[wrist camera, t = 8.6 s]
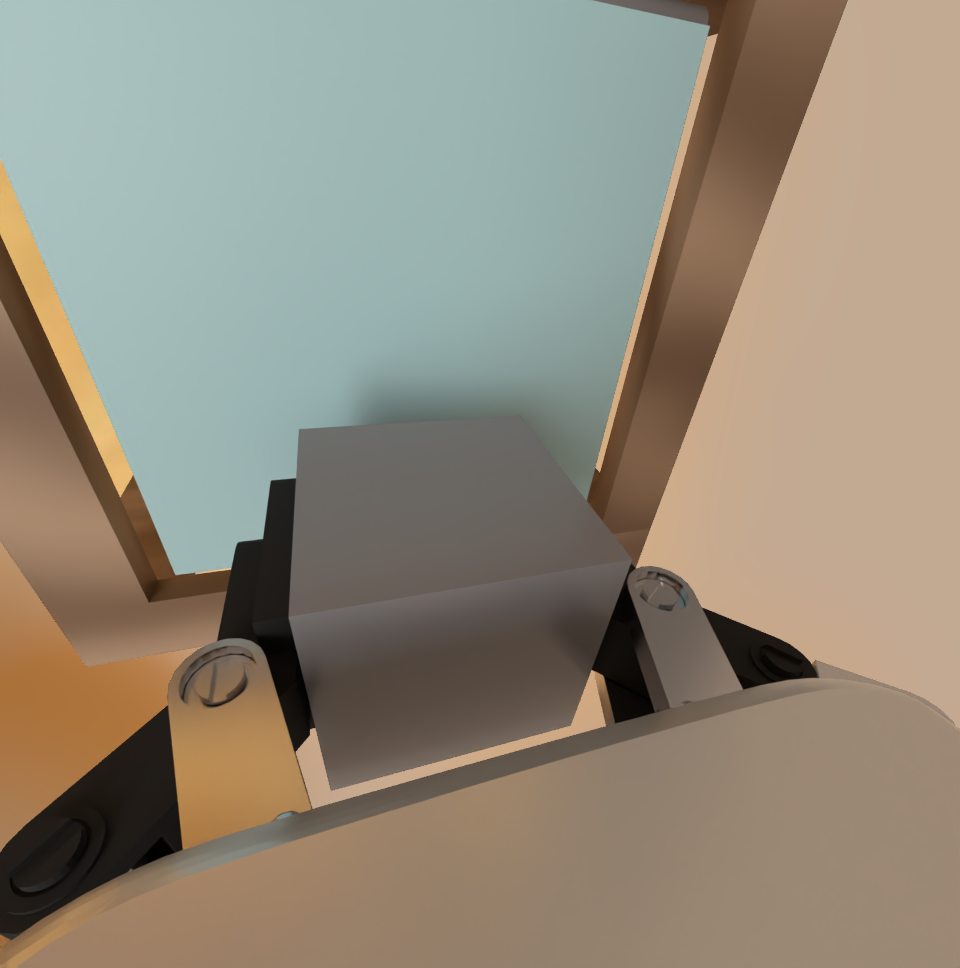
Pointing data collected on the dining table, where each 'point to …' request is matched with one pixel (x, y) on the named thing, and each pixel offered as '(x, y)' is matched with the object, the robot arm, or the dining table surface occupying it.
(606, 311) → the trapdoor
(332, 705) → the gray cube
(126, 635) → the trapdoor frame
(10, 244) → the dining table surface
